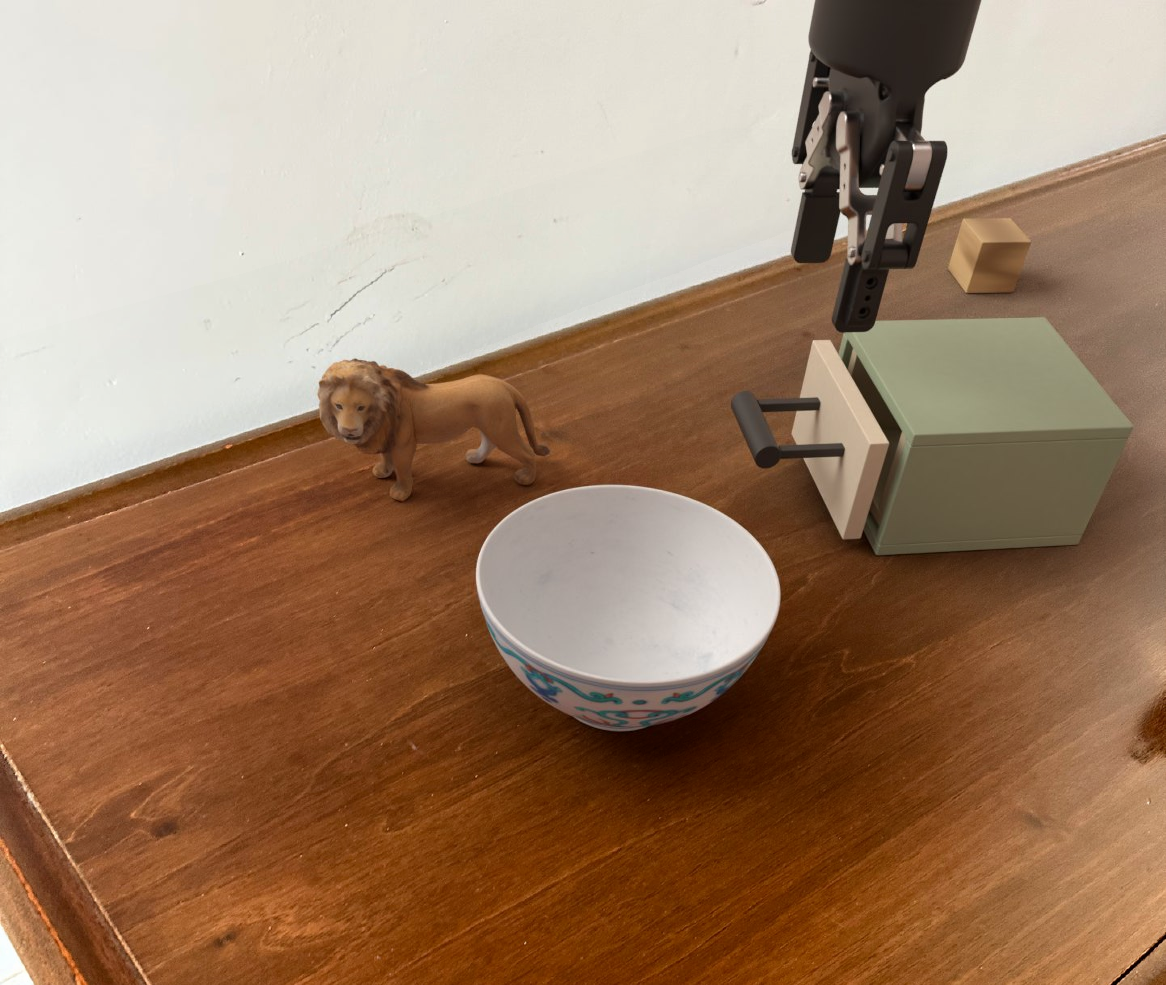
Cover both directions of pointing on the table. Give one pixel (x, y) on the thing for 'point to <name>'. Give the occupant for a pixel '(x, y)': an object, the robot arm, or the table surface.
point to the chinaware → (626, 602)
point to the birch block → (988, 255)
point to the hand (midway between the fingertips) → (829, 292)
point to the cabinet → (988, 434)
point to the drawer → (832, 436)
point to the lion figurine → (422, 417)
